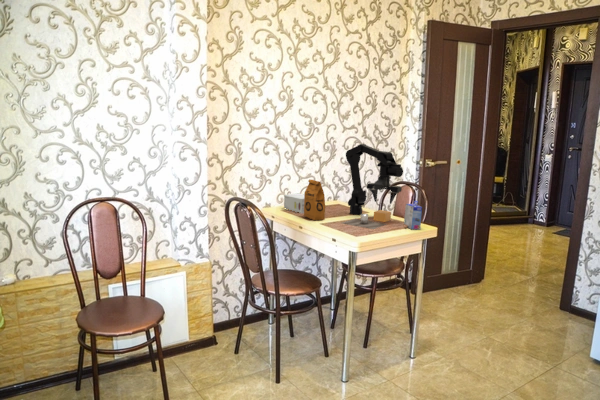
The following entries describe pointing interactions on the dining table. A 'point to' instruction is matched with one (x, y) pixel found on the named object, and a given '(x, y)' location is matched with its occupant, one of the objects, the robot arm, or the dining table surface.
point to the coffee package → (314, 201)
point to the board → (370, 224)
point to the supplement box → (294, 202)
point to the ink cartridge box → (413, 215)
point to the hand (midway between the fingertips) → (382, 202)
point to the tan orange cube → (382, 216)
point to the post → (364, 219)
